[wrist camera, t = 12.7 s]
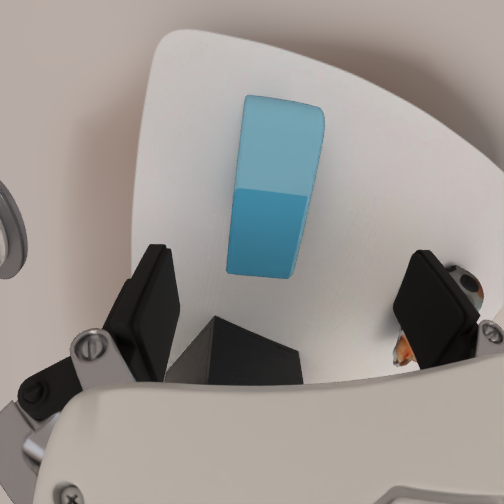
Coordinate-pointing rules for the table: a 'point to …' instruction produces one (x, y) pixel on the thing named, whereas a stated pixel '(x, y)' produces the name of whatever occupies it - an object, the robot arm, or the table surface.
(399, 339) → the lucky cat figurine
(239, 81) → the table surface
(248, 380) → the trash bin
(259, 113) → the blue rounded block
